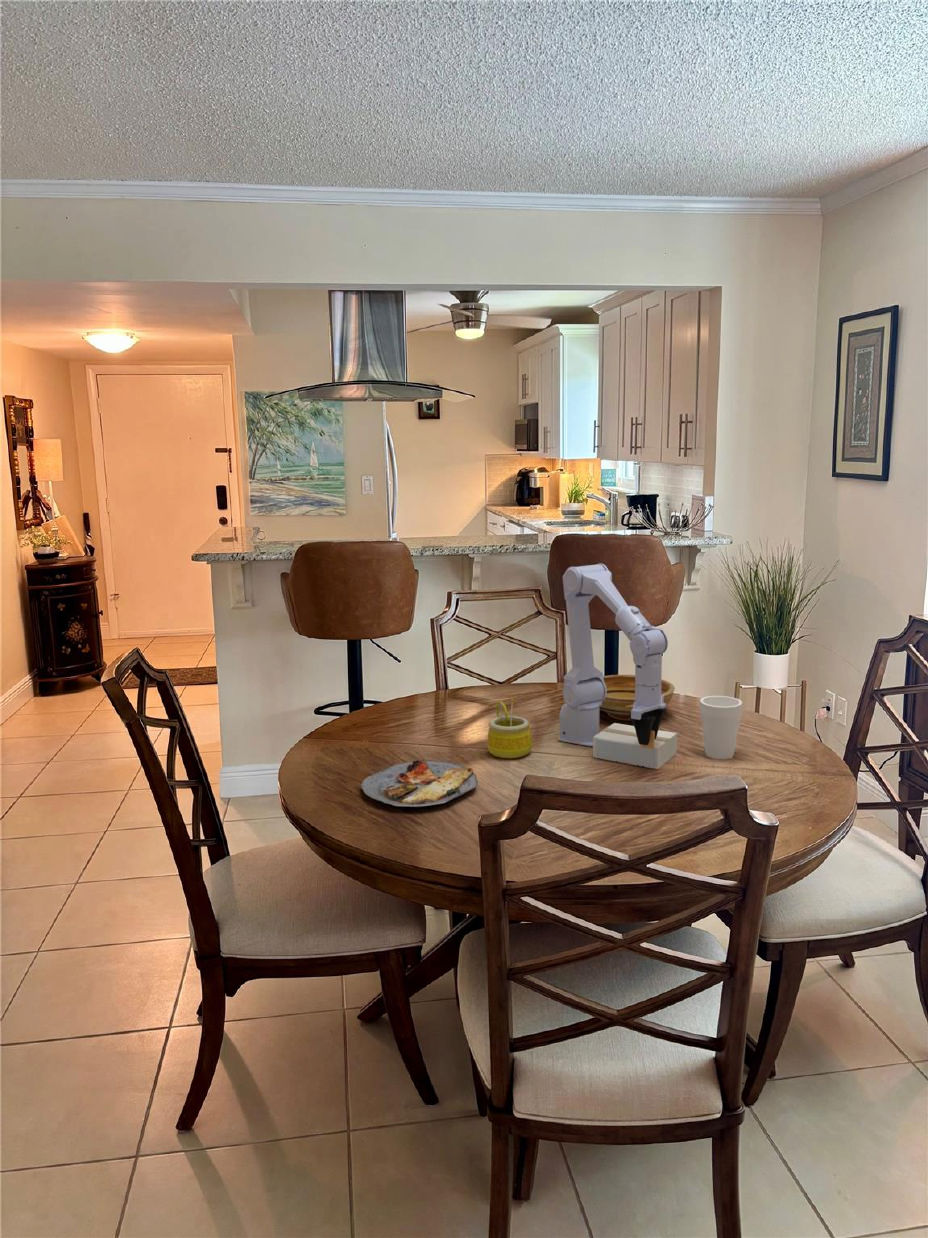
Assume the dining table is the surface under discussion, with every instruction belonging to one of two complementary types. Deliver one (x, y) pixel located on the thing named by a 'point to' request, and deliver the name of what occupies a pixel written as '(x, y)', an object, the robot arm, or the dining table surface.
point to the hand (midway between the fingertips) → (647, 741)
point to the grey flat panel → (627, 752)
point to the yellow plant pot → (509, 735)
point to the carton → (627, 734)
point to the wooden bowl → (626, 695)
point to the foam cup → (720, 725)
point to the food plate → (420, 783)
